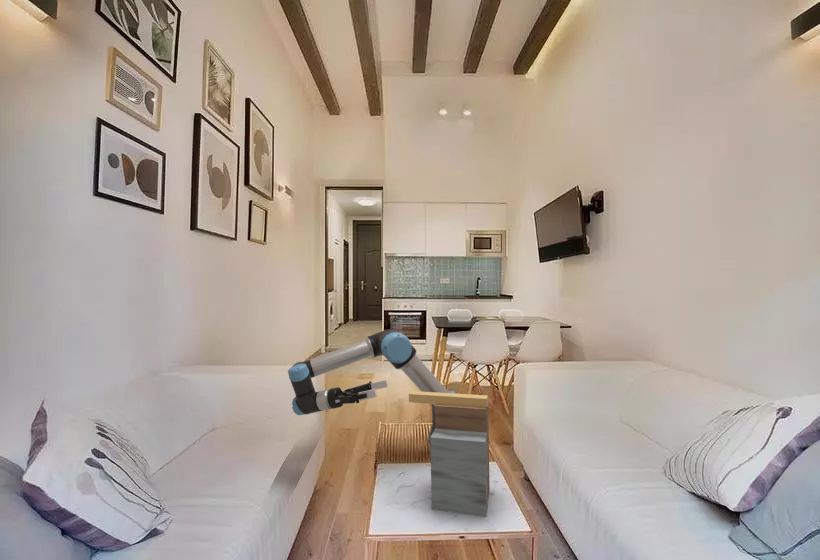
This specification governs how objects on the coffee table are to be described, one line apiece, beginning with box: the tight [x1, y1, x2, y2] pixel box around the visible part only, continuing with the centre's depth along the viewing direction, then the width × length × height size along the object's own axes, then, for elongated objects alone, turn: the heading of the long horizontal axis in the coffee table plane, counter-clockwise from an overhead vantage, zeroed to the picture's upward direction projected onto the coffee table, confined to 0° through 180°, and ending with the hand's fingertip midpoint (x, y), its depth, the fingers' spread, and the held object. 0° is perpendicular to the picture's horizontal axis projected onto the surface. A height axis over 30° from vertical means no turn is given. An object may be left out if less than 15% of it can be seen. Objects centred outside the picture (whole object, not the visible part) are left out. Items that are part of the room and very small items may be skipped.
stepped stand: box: [429, 404, 491, 517], centre depth 139 cm, size 16×18×32 cm
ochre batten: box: [408, 390, 489, 407], centre depth 144 cm, size 4×28×3 cm, turn 75°
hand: (381, 388), depth 151 cm, fingers open, 13 cm apart
